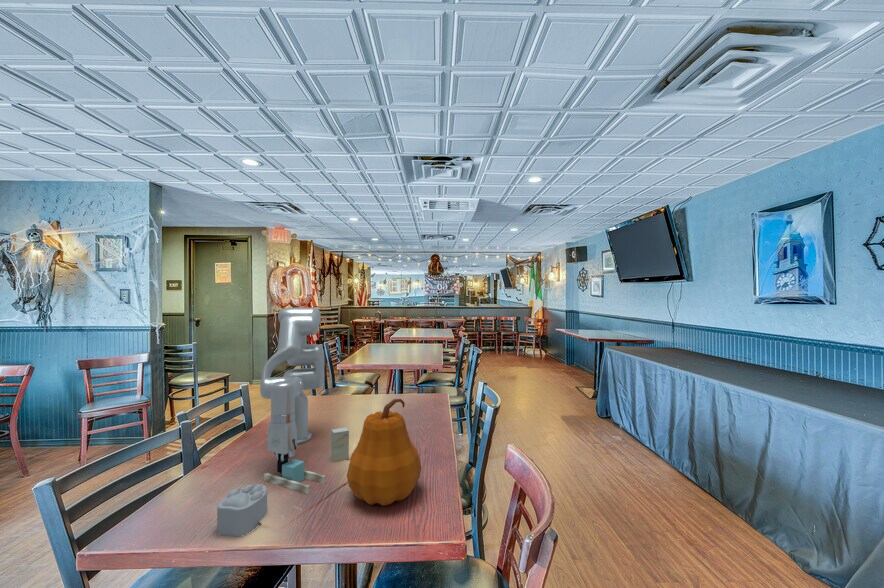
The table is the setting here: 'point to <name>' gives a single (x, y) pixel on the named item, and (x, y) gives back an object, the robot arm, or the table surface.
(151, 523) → the table surface
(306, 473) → the twin rail frame
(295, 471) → the block
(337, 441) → the skincare box
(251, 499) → the lumpy-topped squat cylinder
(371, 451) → the decorative pumpkin
